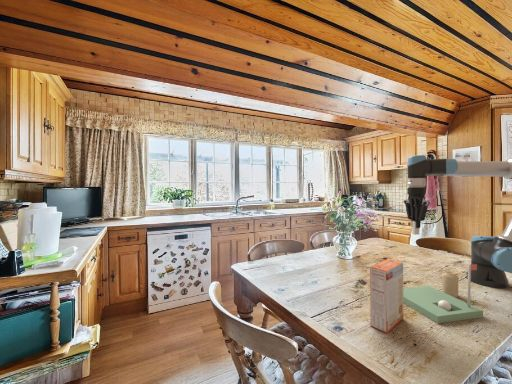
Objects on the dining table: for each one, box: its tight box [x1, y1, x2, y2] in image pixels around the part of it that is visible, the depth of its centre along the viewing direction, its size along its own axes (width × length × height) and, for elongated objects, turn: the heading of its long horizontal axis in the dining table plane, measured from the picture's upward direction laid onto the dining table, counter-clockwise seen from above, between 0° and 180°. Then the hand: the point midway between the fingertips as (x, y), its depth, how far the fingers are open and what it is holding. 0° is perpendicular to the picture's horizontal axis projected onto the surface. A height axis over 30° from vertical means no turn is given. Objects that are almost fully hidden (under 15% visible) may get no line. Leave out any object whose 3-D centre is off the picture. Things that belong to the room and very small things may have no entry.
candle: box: [441, 271, 459, 298], centre depth 103 cm, size 6×6×10 cm
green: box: [403, 264, 484, 324], centre depth 94 cm, size 21×22×18 cm
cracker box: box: [369, 258, 404, 334], centre depth 82 cm, size 14×6×21 cm, turn 128°
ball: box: [438, 300, 451, 311], centre depth 89 cm, size 4×4×4 cm
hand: (415, 234), depth 116 cm, fingers closed
